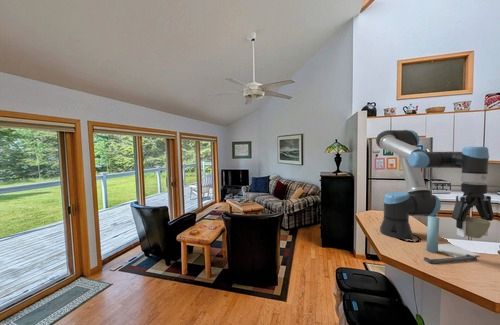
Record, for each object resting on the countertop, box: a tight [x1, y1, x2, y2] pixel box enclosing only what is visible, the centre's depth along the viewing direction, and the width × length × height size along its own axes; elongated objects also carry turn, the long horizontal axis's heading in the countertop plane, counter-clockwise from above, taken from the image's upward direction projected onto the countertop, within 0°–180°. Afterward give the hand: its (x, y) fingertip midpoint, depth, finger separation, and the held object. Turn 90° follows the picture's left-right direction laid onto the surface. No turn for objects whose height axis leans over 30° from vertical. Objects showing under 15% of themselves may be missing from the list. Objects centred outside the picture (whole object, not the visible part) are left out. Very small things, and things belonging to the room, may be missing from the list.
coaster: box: [438, 243, 480, 258], centre depth 97 cm, size 12×12×1 cm
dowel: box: [426, 216, 440, 254], centre depth 97 cm, size 4×4×16 cm
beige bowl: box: [464, 216, 492, 239], centre depth 89 cm, size 10×10×7 cm
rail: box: [423, 254, 478, 265], centre depth 89 cm, size 3×22×1 cm, turn 97°
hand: (472, 235), depth 89 cm, fingers closed on beige bowl, 10 cm apart
